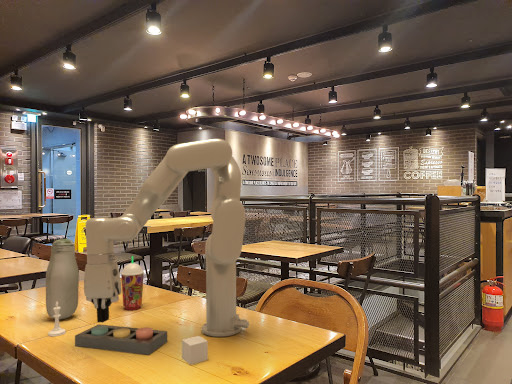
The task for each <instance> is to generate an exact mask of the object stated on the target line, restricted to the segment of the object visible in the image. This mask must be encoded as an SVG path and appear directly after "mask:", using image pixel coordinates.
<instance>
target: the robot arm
mask: <svg viewBox="0 0 512 384" xmlns="http://www.w3.org/2000/svg"><path fill="white" fill-rule="evenodd" d="M232 148H233V147H232V146H231V144H229V142H228V141H226V140H225V139H223V138H211V139H204V140H197V141H191V142H184V143H177V144H174V145H172V146H171V147H169V149H168V150H167V151H166V154H165V156H164V157H163V159H162V160H160V162H159V164H158V165H157V166H156V167H155V169H154V170H153V171H152V172H151V173H150V175H149V176H148V177H147V178H146V179H145V181H144V182H143V184H142V186H141V187H140V189H139V192H138V193H137V195H136V197H135V198H134V200H133V201H132V202H131V204H130V205H129V206H128V207H127V208H126V210H125V211H124V212H123V214H122V215H121V216H118V217H113V218H110V217H93V218H89V219H87V220H86V222H85V241H86V243H85V244H86V264H85V268H84V275H83V294H84V296H85V300H86V301H88V302H90V303H92V304H93V305H94V306H93V307H94V309H96V321H97V323H100V324H101V323H102V324H103V323H105V322H106V321H109V319H110V307H111V306H112V303H116V302H118V301H119V300H120V297H119V295H121V294H122V279H121V273H120V268H119V265H118V262H115V261H117V259H118V256H117V255H115V244H114V242H130V241H132V240H134V239H135V238H136V237H137V236H138V234H139V233H141V232H140V231H142V229H143V227H144V226H145V225H146V224H147V223H148V221H149V220H150V219H151V218H152V216H153V215H154V214H155V212H156V211H157V210H158V209H159V208H160V207H161V206H162V205H163V204H165V202H166V201H167V199H168V198H169V197H170V196H171V195H172V193H173V192H174V191H175V189H176V188H177V187H178V186H179V184H180V183H181V182H182V180H183V179H184V178H185V177H186V175H187V174H188V173H189V172H194V171H201V170H206V169H207V170H208V169H210V170H211V171H212V172H213V174H214V188H213V189H214V191H213V198H212V204H211V205H212V206H211V208H210V209H211V210H210V216H211V219H212V220H213V222H212V230H211V234H209V236H208V237H207V238H206V241H205V246H204V247H205V248H204V251H205V255H204V256H205V266H206V267H205V274H206V275H205V276H206V277H205V280H206V282H205V283H206V284H205V285H206V286H205V287H206V288H205V289H206V291H205V293H206V294H205V295H206V296H205V297H206V298H205V300H206V303H205V304H206V307H205V308H206V310H205V311H206V320H205V321H206V322H205V323H204V324H203V325H202V326H201V333H203V334H204V335H206V336H210V337H217V338H219V337H220V338H221V337H229V336H234V335H236V334H238V333H240V332H241V331H242V328H243V329H249V325H250V323H249V321H248V319H245V318H244V319H241V318H240V314H238V313H237V263H236V261H238V259H239V258H240V257H241V254H242V248H243V241H244V235H245V226H246V225H245V223H246V211H245V210H246V209H245V207H244V204H243V203H242V202H241V200H240V199H241V187H242V174H241V169H240V166H239V164H238V162H237V160H236V159H235V157H233V149H232Z"/></svg>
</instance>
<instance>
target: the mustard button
mask: <svg viewBox="0 0 512 384" xmlns="http://www.w3.org/2000/svg"><path fill="white" fill-rule="evenodd" d="M129 335H130V329H127V328H122V329H117V330H115V331H114V332H113V337H119V338H125V337H127V336H129Z"/></svg>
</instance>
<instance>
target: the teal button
mask: <svg viewBox="0 0 512 384" xmlns="http://www.w3.org/2000/svg"><path fill="white" fill-rule="evenodd" d="M106 333H108V327H107V326H99V327H95V328H93V329H92V330H91V334H92V335H101V336H102V335H104V334H106Z"/></svg>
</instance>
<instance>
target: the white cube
mask: <svg viewBox="0 0 512 384" xmlns="http://www.w3.org/2000/svg"><path fill="white" fill-rule="evenodd" d="M208 344H209V343H208V340H206V339H205V338H203V337H202V336H200V335H197V336H192V337H188V338H184V339H181V359H182V360H183V361H184V362H186V364H188V365H190V366H192V365H194V364H198V363H202V362H205V361H208V359H209V356H208V354H209V353H208V349H209V348H208V346H209V345H208Z"/></svg>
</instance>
